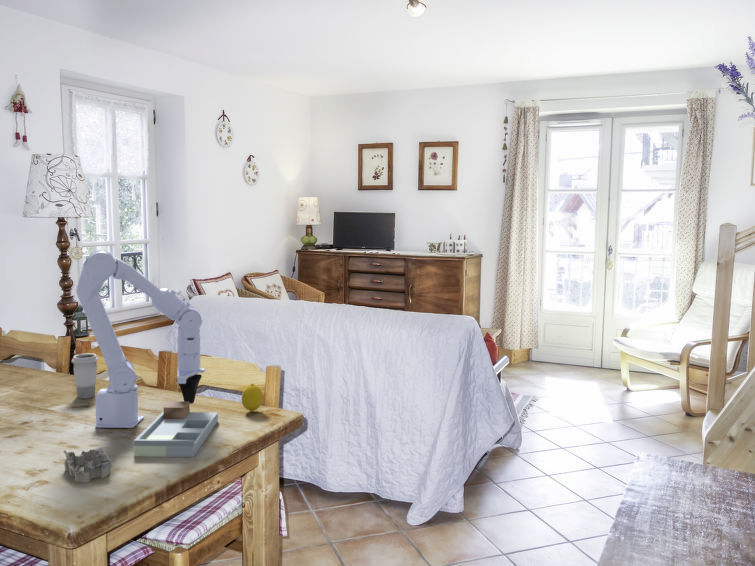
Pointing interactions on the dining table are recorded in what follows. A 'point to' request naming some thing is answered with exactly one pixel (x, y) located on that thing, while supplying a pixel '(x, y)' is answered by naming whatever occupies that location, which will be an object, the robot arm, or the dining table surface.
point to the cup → (85, 374)
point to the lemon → (252, 397)
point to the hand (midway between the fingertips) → (189, 402)
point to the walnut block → (176, 410)
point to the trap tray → (175, 435)
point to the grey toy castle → (88, 464)
